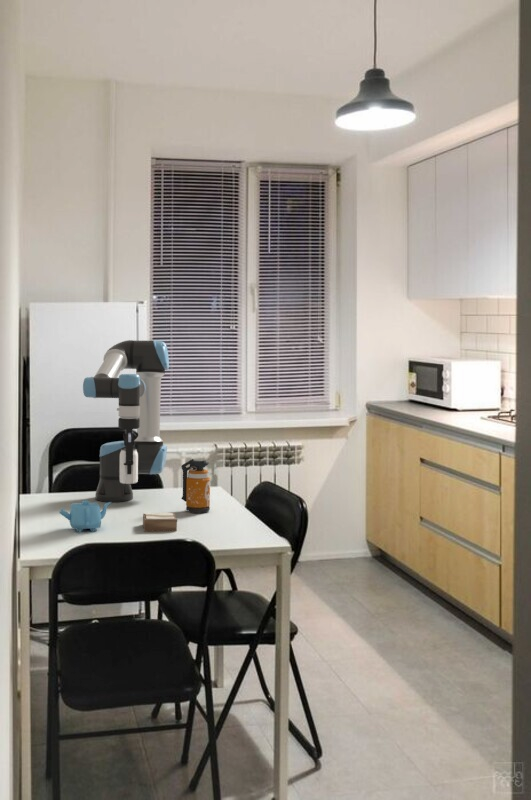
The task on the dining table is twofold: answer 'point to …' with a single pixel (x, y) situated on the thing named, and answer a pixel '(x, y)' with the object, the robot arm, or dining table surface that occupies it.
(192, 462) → the canister
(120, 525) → the dining table surface
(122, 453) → the can
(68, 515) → the teapot
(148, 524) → the podium
